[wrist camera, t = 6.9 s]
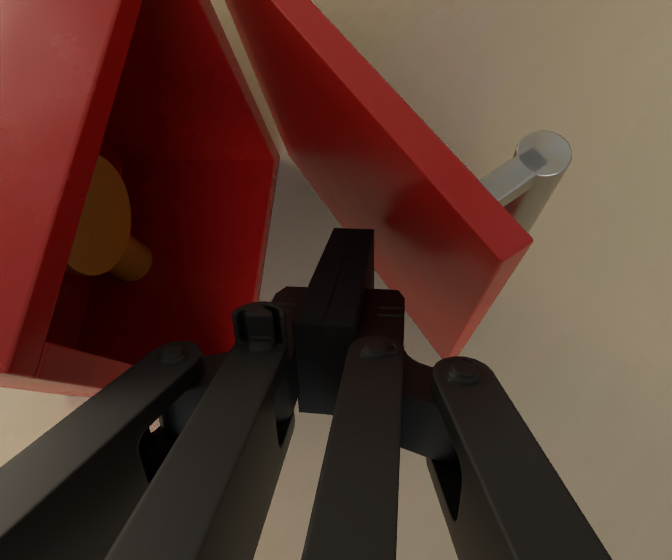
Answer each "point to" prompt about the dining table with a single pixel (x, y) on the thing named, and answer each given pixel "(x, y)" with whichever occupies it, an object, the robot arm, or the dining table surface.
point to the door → (397, 170)
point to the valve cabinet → (123, 188)
